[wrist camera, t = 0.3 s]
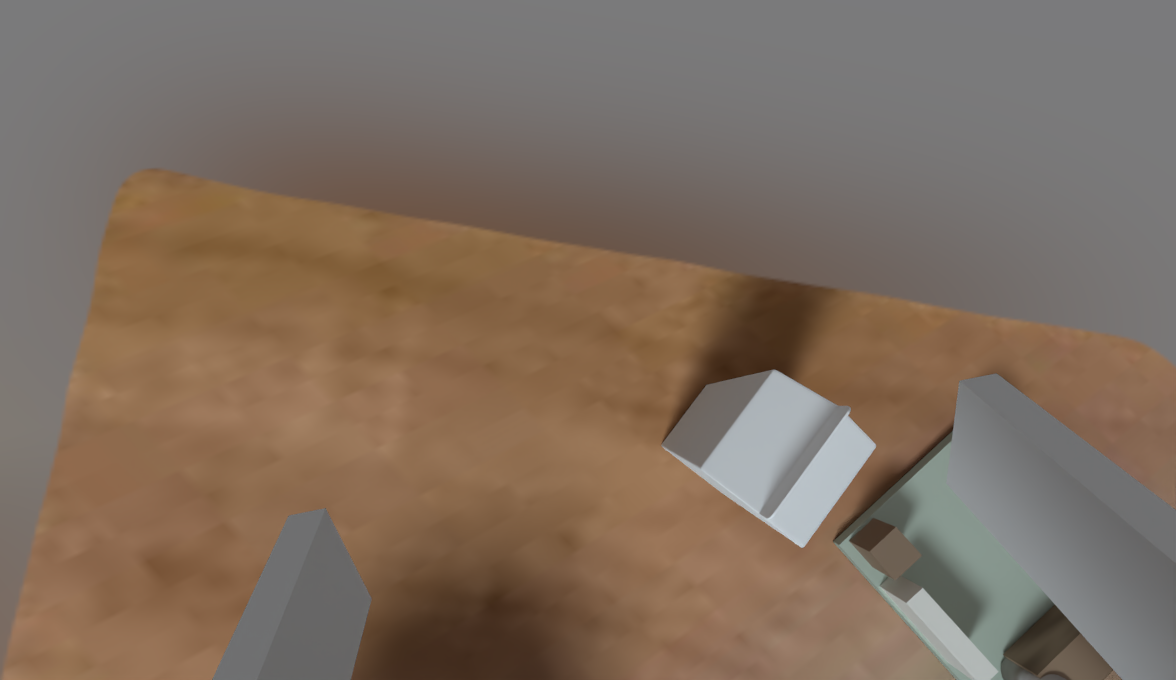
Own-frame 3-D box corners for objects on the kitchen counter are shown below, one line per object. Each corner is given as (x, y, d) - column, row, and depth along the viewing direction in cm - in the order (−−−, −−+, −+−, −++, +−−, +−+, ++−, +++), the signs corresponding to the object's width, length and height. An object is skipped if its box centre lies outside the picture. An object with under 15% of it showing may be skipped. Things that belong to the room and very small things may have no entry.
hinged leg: (1021, 699, 44) (1061, 726, 40) (990, 665, 44) (1027, 689, 40) (1137, 587, 45) (1186, 603, 41) (1106, 554, 45) (1152, 568, 41)
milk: (660, 445, 48) (706, 475, 26) (707, 382, 48) (791, 360, 26) (724, 495, 47) (827, 568, 25) (771, 431, 48) (912, 449, 26)
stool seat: (1140, 583, 46) (1208, 605, 41) (995, 723, 45) (1046, 764, 40) (975, 409, 48) (1021, 409, 42) (832, 541, 47) (861, 557, 42)
